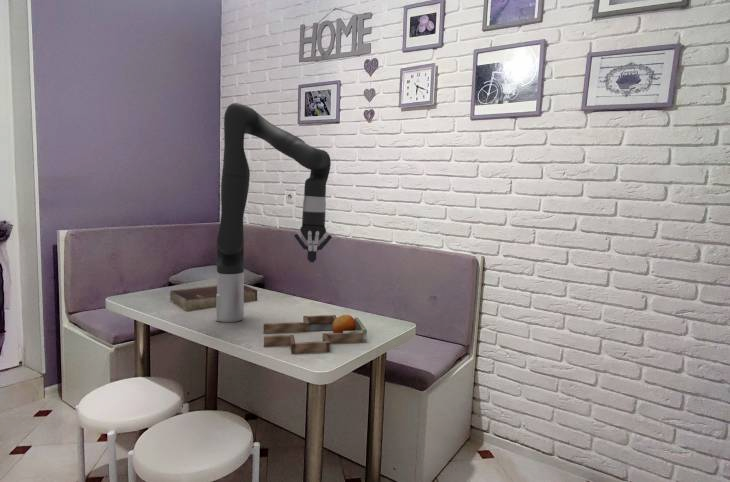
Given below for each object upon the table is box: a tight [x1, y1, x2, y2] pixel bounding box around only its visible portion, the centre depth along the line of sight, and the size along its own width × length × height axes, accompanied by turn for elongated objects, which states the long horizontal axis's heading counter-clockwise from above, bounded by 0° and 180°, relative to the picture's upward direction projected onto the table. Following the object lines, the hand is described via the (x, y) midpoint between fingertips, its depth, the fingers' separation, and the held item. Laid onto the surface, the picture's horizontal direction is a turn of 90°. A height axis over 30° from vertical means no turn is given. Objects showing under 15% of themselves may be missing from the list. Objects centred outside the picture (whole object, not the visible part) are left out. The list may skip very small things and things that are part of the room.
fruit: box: [332, 314, 356, 333], centre depth 149 cm, size 8×8×8 cm
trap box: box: [262, 314, 368, 355], centre depth 146 cm, size 32×27×4 cm
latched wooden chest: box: [169, 284, 258, 312], centre depth 185 cm, size 29×19×5 cm, turn 131°
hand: (311, 261), depth 150 cm, fingers closed
